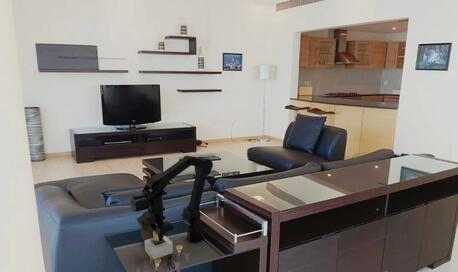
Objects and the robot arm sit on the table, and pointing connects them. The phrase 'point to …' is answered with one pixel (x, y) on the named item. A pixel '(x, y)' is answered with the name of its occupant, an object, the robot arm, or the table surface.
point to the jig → (158, 248)
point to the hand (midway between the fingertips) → (158, 239)
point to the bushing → (156, 238)
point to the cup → (146, 232)
